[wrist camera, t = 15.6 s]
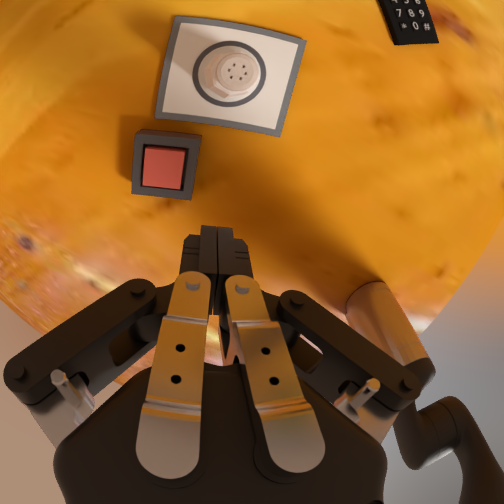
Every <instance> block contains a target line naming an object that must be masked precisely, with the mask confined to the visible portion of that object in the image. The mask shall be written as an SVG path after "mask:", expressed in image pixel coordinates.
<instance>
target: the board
mask: <svg viewBox="0 0 504 504" xmlns="http://www.w3.org/2000/svg"><path fill="white" fill-rule="evenodd" d="M306 42H307V41H306V40H303V39H299V38H296V37H293V36H289V35H286V34H282V33H279V32H275V31H271V30H267V29H263V28H258V27H254V26H249V25H244V24H238V23H233V22H227V21H220V20H213V19H204V18H195V17H182V16H175V19H174V23H173V27H172V31H171V34H170V38H169V43H168V47H167V51H166V56H165V60H164V65H163V70H162V75H161V80H160V86H159V91H158V97H157V104H156V110H155V117H154V118H157V119H169V120H178V121H187V122H196V123H203V124H210V125H217V126H223V127H229V128H235V129H241V130H246V131H252V132H257V133H262V134H266V135H271V136H276V137H280V135H281V132H282V128H283V125H284V121H285V117H286V114H287V110H288V106H289V103H290V99H291V96H292V92H293V88H294V85H295V81H296V78H297V74H298V70H299V67H300V63H301V60H302V56H303V52H304V49H305V45H306ZM236 51H242V52H243V53H245V54H247V55H248V56H250V57H251V58H253V59H254V60H256V62H257V66H258V70H259V79H258V80H257V82H256V83H255V84H254V85H253V87H252V88H251V89H250V90H249V92H248V93H246V94H245V95H241V96H235V97H230V98H222V97H221V96H219V95H217V94H216V93H214V92H212V91H211V90H209V89H207V84H206V79H205V75H204V70H205V68H206V67H207V65H208V64H209V63H210V62H211V60H212V59H213V58H214V56H215V55H218V54H224V53H229V52H236Z"/></svg>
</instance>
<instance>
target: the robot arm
mask: <svg viewBox="0 0 504 504" xmlns="http://www.w3.org/2000/svg"><path fill="white" fill-rule="evenodd" d="M212 309H213V315H219V325H218V334H219V341H220V347H221V354H222V361H223V366H217V365H213V364H209V363H205V362H204V356H205V344H206V332H207V325H208V319H209V315H212ZM346 310H347V313H346V315H345V316H346V318H347V321H348V323H349V325H350V326H348V325H347V324H345V323H344V322H343V321H341V320H340V319H339V318H337V317H336V316H335V315H333V314H332V313H330V312H329V311H328V310H326V309H325V308H324V307H322V306H321V305H320V304H318V303H317V302H316V301H314V300H313V299H311V298H310V297H309V296H307V295H306V294H304V293H302V292H300V291H296V290H288V291H285V292H283V293H282V294H281V296H280V297H279V296H275V295H272V294H269V293H266V292H264V291H263V290H261V289H260V286H259V284H258V283H257V281H255V280H254V278H253V273H252V268H251V262H250V257H249V251H248V246H247V245H246V243H245V242H244V241H243V240H242V239H235V238H233V230H232V228H226V227H217V230H216V227H215V226H205V225H201V233H200V235H190V234H189V236H188V237H187V238H186V239H185V240H184V245H183V251H182V258H181V265H180V272H179V276H178V277H177V278H176V280H175V282H173V283H172V284H170V285H167V286H163V287H157V288H155V286H154V285H153V283H151V282H150V281H148V280H145V279H132V280H129V281H127V282H125V283H124V284H122V285H121V286H119V287H117V288H116V289H114V290H113V291H111V292H109V293H108V294H106V295H105V296H103V297H101V298H100V299H98V300H97V301H95V302H94V303H92V304H91V305H89V306H87V307H86V308H84V309H83V310H81V311H80V312H78V313H77V314H75V315H74V316H72V317H71V318H69V319H68V320H66V321H65V322H63V323H62V324H60V325H59V326H57V327H56V328H54V329H53V330H51V331H50V332H48V333H47V334H45V335H44V336H43V337H41V338H40V339H38V340H37V341H35V342H34V343H32V344H31V345H30V346H28V347H27V348H25V349H24V350H23V351H21V352H20V353H18V354H17V355H16V356H14V357H13V358H11V359H10V360H9V361H8V362H7V364H6V366H5V368H4V373H3V376H4V382H5V384H6V386H7V387H8V388H9V389H10V390H11V391H12V392H13V393H14V394H15V395H16V397H17V398H18V399H19V401H20V402H21V403H22V404H23V405H24V406H26V407H27V408H28V409H29V410H30V412H31V414H32V415H33V417H34V418H35V420H36V421H37V423H38V424H39V426H40V427H41V429H42V430H43V432H44V433H45V434H46V436H47V437H48V438H49V440H50V441H51V443H52V444H53V445H54V446H55V448H56V452H55V455H54V461H53V466H54V473H55V477H56V480H57V482H58V484H59V487H60V489H61V491H62V493H63V496H64V498H65V502H66V504H384V502H383V489H384V481H385V477H386V472H387V457H386V454H385V451H384V449H383V447H382V446H381V443H382V441H383V440H384V438H385V436H386V434H387V433H388V431H389V429H390V428H391V426H392V425H393V427H394V431H395V435H396V439H397V443H398V446H399V449H400V453H401V455H402V458H403V460H404V462H405V463H406V465H407V466H408V467H409V468H411V469H412V470H419V469H421V468H423V467H426V466H428V465H429V464H431V463H433V462H435V461H437V460H439V459H440V458H442V457H444V456H445V455H447V454H449V453H451V452H452V451H454V453H455V454H456V456H457V457H458V460H459V462H460V465H461V468H462V473H463V485H462V491H461V496H460V500H459V504H504V472H503V471H502V469H501V467H500V466H499V464H498V462H497V461H496V459H495V457H494V455H493V453H492V451H491V450H490V448H489V446H488V444H487V442H486V440H485V438H484V436H483V435H482V433H481V431H480V429H479V427H478V425H477V424H476V422H475V420H474V418H473V417H472V415H471V413H470V412H469V410H468V409H467V408H466V406H465V405H464V404H463V403H462V402H461V401H460V400H459V399H457V398H456V397H453V396H447V397H444V398H442V399H440V400H438V401H436V402H435V403H433V404H431V405H429V406H427V407H425V408H423V409H421V410H419V411H417V410H416V406H415V399H417V398H418V397H419V395H420V393H421V391H422V390H423V389H424V388H425V387H426V386H427V385H428V384H429V383H430V382H431V381H432V379H433V378H434V376H435V373H436V371H435V367H434V365H433V363H432V361H431V360H430V358H429V356H428V354H427V352H426V351H425V348H424V346H423V345H422V343H421V341H420V339H419V337H418V336H417V334H416V332H415V330H414V329H413V327H412V325H411V323H410V322H409V320H408V318H407V317H406V315H405V313H404V312H403V310H402V308H401V307H400V305H399V303H398V302H397V300H396V298H395V297H394V295H393V294H392V292H391V290H390V289H389V287H388V286H387V285H386V284H385V283H383V282H372V283H369V284H366V285H364V286H362V287H360V288H359V289H358V290H356V291H355V292H354V293H353V294H352V295H351V297H350V298H349V300H348V301H347V304H346ZM300 334H302V335H303V336H304V337H306V338H307V339H308V340H309V341H311V342H312V343H313V344H315V345H316V346H317V347H318V348H319V349H320V350H321V351H322V353H323V354H321V353H320V352H319V351H317V350H316V349H315V348H314V347H312V346H311V345H310V344H308V343H307V342H306V341H305V340H303V339H302V338H301V337H300ZM156 344H157V345H156ZM155 345H156V350H155V354H154V359H153V364H152V367H149V368H147V369H144V370H142V371H140V372H139V373H137V374H136V375H134V376H133V377H132V378H131V379H129V380H128V381H127V382H126V383H125V384H124V385H123V386H122V387H121V388H120V389H119V390H118V391H116V392H115V393H114V394H113V395H112V396H111V397H110V398H109V399H108V400H107V401H105V403H103V405H101V406H100V407H99V408H98V409H97V410H96V411H95V412H93V413H92V411H93V409H94V403H95V402H94V398H93V397H94V396H95V395H96V394H97V393H99V392H100V391H101V390H102V389H103V388H105V387H106V386H107V385H108V384H109V383H111V382H112V381H113V380H114V379H116V378H117V377H118V376H119V375H120V374H122V373H123V372H124V371H125V370H127V369H128V368H129V367H130V366H131V365H133V364H134V363H135V362H136V361H137V360H139V359H140V358H141V357H142V356H143V355H145V354H146V353H147V352H148V351H149V350H151V349H152V348H153V347H154V346H155ZM325 398H326V399H325ZM330 402H331V403H332V404H331V403H330ZM91 413H92V414H91ZM90 414H91V415H90ZM89 415H90V416H89Z"/></svg>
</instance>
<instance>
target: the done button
mask: <svg viewBox="0 0 504 504" xmlns="http://www.w3.org/2000/svg"><path fill="white" fill-rule="evenodd" d="M185 155H186V148H180V147H171V146H161V145H150V144H149V145H148V146H147V147H146V148H145V158H144V171H143V185H144V186H154V187H163V188H172V189H180V187H181V183H182V176H183V169H184V161H185Z"/></svg>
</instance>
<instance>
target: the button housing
mask: <svg viewBox="0 0 504 504" xmlns="http://www.w3.org/2000/svg"><path fill="white" fill-rule="evenodd" d="M201 137H202V135H195V134H186V133H178V132H168V131H157V130H144V129H141V130H140V131H138V132H137V133H136V134H135V141H134V153H133V168H132V192H131V194H138V195H148V196H157V197H166V198H175V199H184V200H191V199H192V193H193V186H194V179H195V173H196V167H197V160H198V154H199V149H200V143H201ZM149 144H150V145H161V146H171V147H180V148H186V155H185V161H184V169H183V176H182V183H181V187H180V189H172V188H163V187H154V186H144V185H143V171H144V158H145V148H146V147H147V146H148V145H149Z"/></svg>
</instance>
